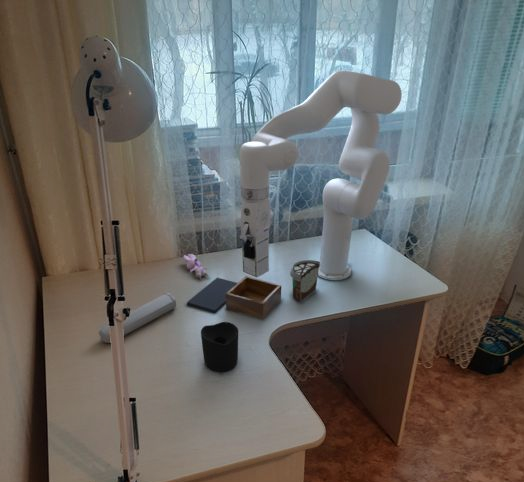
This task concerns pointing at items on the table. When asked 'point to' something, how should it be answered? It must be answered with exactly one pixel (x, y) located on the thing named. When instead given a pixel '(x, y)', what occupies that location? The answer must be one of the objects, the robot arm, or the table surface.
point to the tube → (143, 315)
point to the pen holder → (220, 346)
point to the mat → (212, 295)
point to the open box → (253, 297)
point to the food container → (304, 278)
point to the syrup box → (258, 255)
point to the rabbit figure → (195, 266)
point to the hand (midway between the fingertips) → (255, 252)
